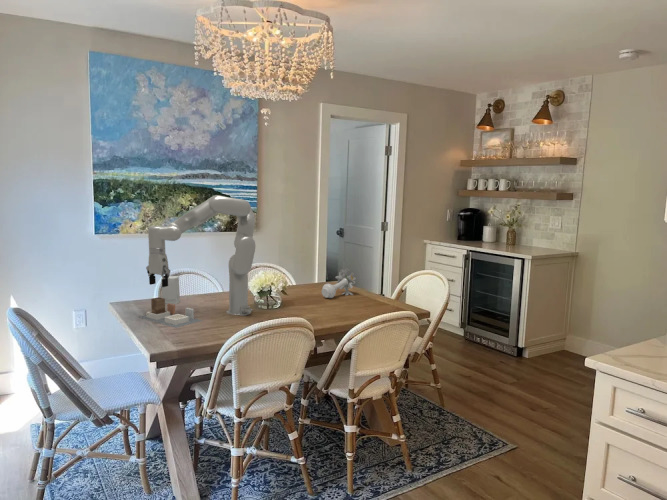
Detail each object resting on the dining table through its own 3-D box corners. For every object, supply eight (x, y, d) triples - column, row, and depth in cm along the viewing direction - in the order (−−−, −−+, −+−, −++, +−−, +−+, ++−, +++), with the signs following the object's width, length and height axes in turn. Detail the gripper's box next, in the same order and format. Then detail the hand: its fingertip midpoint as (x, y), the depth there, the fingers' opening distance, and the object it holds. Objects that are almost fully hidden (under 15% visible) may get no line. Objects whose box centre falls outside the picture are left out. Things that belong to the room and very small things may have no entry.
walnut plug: (165, 316, 248) (164, 298, 247) (157, 318, 244) (157, 300, 243) (159, 314, 250) (158, 297, 249) (151, 316, 246) (151, 298, 245)
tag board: (202, 322, 243) (202, 315, 243) (175, 329, 230) (175, 322, 230) (164, 312, 259) (164, 305, 259) (137, 318, 246) (137, 312, 245)
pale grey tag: (193, 318, 245) (193, 309, 244) (191, 319, 244) (191, 309, 243) (187, 317, 248) (187, 307, 247) (185, 318, 246) (185, 308, 246)
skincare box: (180, 303, 280) (179, 275, 278) (176, 306, 273) (176, 278, 271) (165, 302, 279) (164, 275, 277) (161, 305, 273) (161, 277, 271)
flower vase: (332, 310, 299) (358, 294, 316) (332, 284, 291) (359, 268, 308) (317, 303, 307) (343, 287, 324) (316, 277, 299) (343, 262, 316)
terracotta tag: (175, 314, 253) (175, 304, 252) (172, 314, 252) (172, 305, 251) (169, 312, 255) (169, 303, 255) (167, 313, 254) (167, 303, 253)
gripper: (175, 251, 241) (176, 286, 243) (152, 248, 250) (154, 282, 253) (162, 253, 235) (163, 289, 237) (139, 250, 244) (141, 284, 247)
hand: (158, 285), depth 245 cm, fingers open, 9 cm apart
